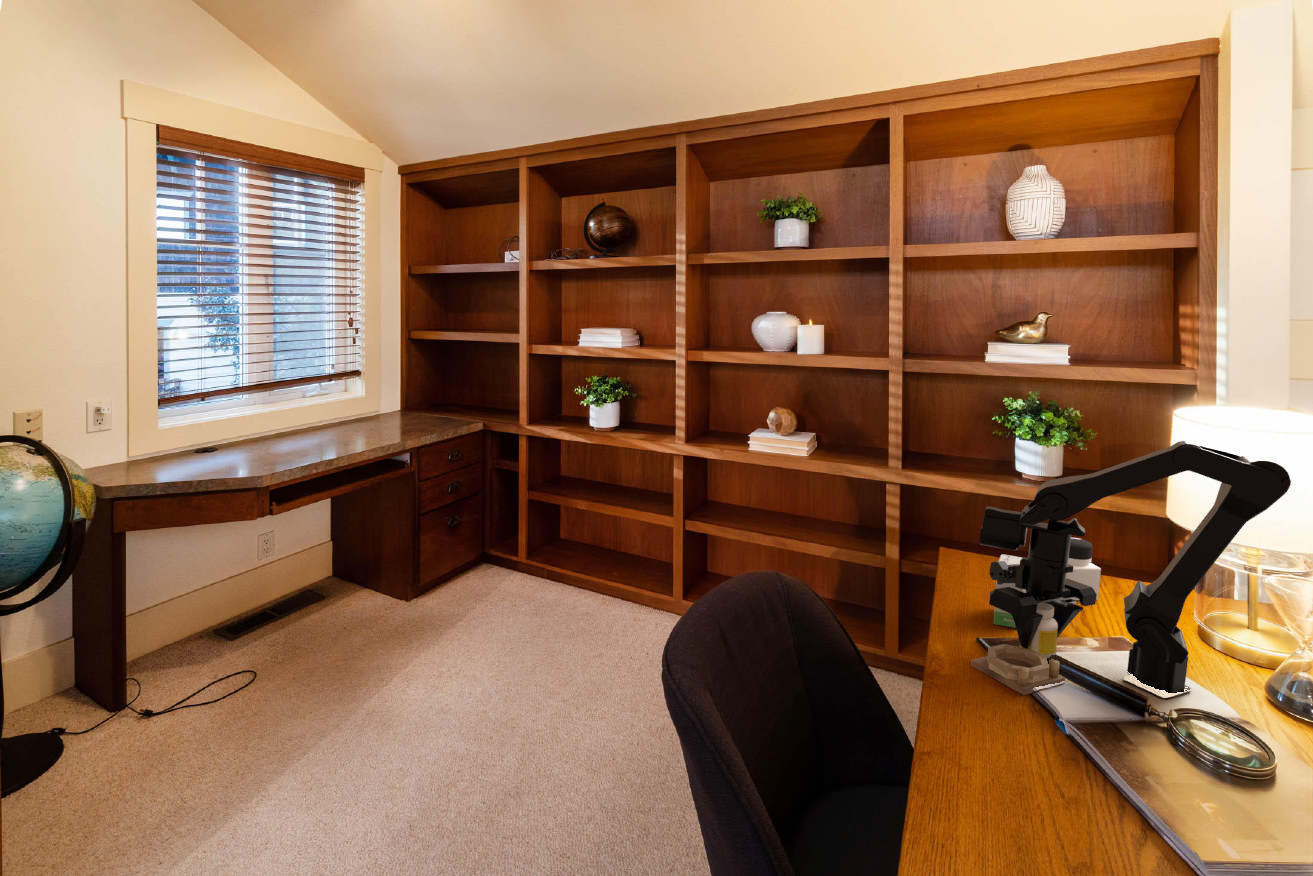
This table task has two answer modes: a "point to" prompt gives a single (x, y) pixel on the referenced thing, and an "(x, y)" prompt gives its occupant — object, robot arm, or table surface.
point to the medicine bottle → (1083, 564)
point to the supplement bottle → (1045, 632)
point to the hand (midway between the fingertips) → (1037, 645)
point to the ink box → (1000, 615)
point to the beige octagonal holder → (1019, 668)
